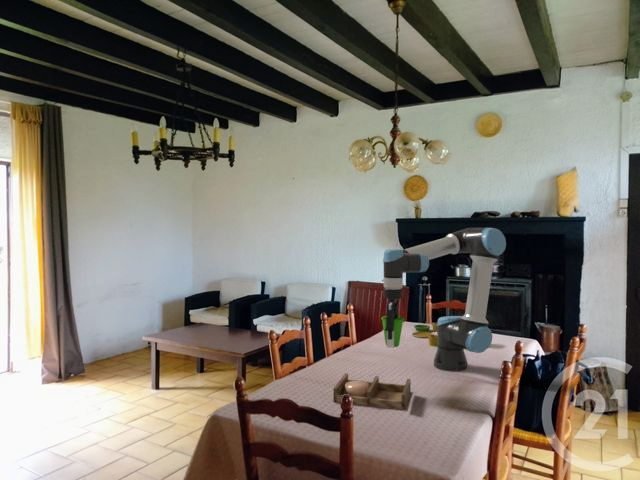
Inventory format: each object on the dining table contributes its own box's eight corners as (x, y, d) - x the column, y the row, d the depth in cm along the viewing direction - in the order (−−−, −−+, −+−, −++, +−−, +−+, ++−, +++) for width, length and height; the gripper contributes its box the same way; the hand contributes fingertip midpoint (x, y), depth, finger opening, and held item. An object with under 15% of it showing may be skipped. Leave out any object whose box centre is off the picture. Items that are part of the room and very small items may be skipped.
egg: (370, 392, 181) (370, 382, 181) (366, 400, 173) (366, 389, 173) (348, 390, 184) (348, 379, 184) (342, 398, 175) (342, 387, 175)
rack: (410, 394, 181) (410, 379, 181) (405, 412, 164) (405, 395, 164) (345, 388, 189) (345, 373, 189) (333, 404, 172) (333, 388, 172)
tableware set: (465, 348, 249) (465, 336, 249) (412, 346, 254) (412, 335, 254) (457, 331, 289) (457, 320, 289) (411, 329, 294) (411, 319, 294)
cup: (403, 349, 181) (403, 320, 181) (379, 347, 183) (380, 319, 183) (404, 343, 190) (404, 316, 190) (382, 342, 192) (382, 315, 192)
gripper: (388, 284, 198) (387, 337, 198) (378, 291, 177) (377, 350, 177) (406, 285, 195) (405, 339, 196) (398, 292, 175) (397, 352, 175)
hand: (392, 344), depth 187 cm, fingers closed on cup, 9 cm apart
